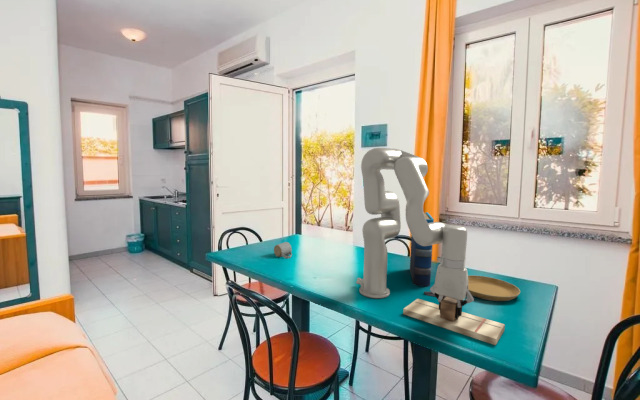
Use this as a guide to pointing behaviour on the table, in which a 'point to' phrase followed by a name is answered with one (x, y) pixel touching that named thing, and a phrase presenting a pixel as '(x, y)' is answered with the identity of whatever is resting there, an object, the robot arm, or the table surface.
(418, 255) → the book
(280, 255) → the ceramic mug
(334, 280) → the table surface
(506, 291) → the plant saucer
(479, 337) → the board
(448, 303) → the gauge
